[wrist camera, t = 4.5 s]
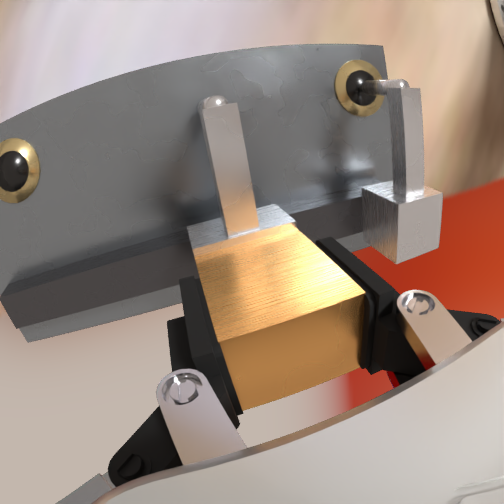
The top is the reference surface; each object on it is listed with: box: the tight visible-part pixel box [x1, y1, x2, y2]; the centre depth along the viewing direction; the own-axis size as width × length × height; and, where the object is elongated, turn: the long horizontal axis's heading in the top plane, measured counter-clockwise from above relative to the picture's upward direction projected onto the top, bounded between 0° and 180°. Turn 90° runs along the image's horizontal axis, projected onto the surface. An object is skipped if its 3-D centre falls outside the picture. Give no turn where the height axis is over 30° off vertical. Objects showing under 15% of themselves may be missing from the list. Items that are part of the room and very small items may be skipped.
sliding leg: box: [187, 95, 366, 411], centre depth 11 cm, size 4×9×8 cm, turn 10°
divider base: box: [0, 44, 443, 342], centre depth 13 cm, size 24×12×6 cm, turn 100°
